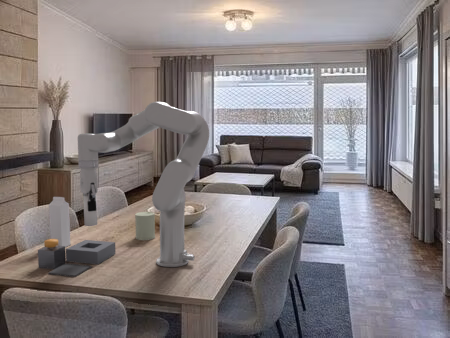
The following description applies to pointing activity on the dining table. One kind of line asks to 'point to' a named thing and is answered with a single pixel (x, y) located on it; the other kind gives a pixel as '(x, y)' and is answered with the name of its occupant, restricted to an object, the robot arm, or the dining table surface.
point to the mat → (70, 270)
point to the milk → (59, 221)
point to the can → (145, 225)
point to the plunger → (51, 243)
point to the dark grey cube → (51, 257)
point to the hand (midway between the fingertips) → (90, 209)
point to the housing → (90, 252)
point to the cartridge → (89, 213)
